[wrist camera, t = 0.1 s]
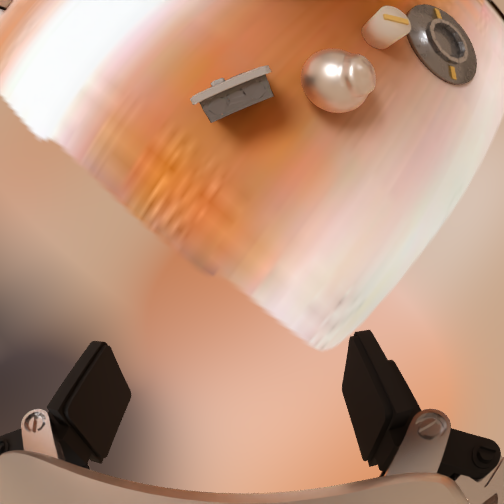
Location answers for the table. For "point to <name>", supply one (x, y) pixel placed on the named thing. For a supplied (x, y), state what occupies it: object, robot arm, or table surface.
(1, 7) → the disc drive
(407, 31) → the white rounded cylinder
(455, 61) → the socket
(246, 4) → the table surface
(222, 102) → the electrical switch
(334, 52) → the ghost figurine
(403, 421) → the robot arm
